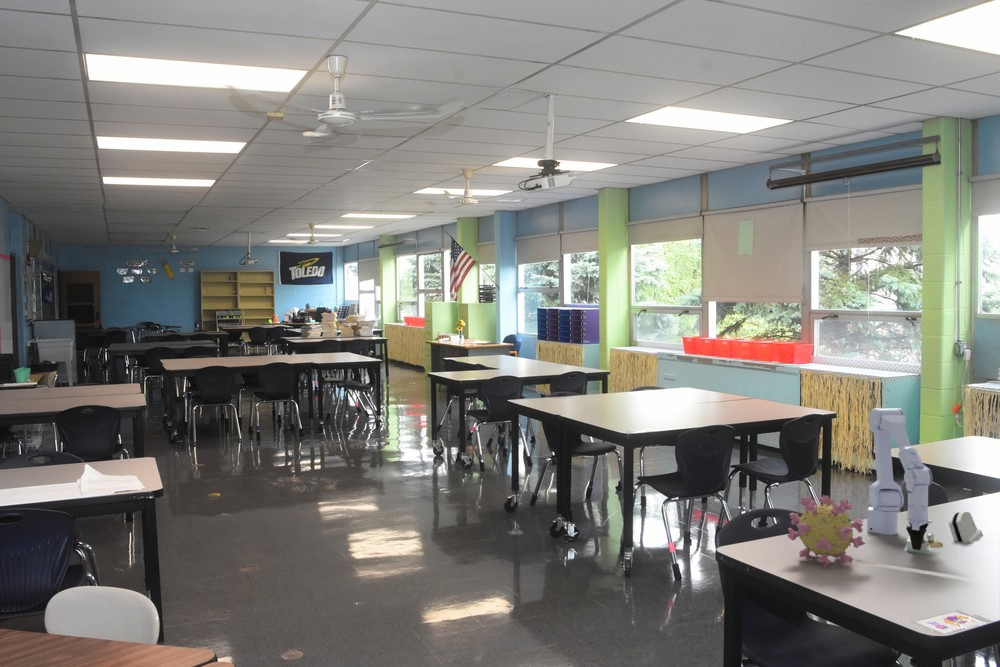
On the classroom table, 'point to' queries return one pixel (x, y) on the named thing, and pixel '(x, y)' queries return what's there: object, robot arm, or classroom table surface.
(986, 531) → the classroom table surface
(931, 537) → the hub
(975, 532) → the hinge
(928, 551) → the stand
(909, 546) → the hollow square metal tube
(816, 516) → the educational model
